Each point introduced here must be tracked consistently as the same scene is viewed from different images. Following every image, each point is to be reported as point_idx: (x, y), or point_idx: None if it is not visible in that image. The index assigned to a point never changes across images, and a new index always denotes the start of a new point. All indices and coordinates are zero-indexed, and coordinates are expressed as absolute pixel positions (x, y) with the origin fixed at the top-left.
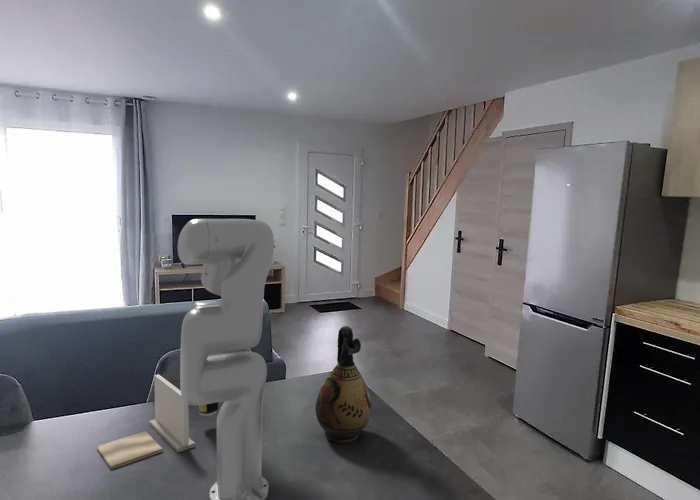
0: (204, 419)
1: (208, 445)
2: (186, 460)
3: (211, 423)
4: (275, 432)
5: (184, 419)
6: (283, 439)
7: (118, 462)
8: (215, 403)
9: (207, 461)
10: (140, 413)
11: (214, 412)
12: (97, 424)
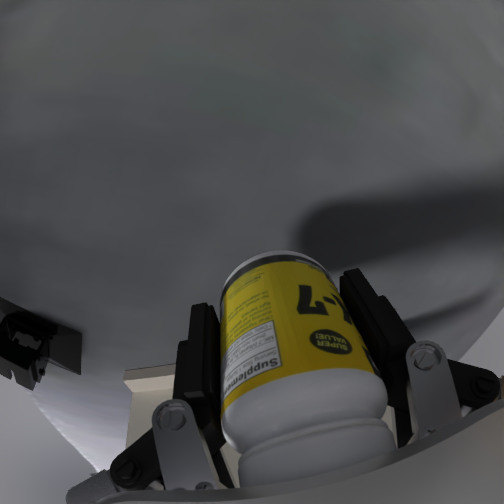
0: (172, 251)
1: (407, 272)
2: (423, 329)
3: (236, 228)
4: (459, 23)
5: None
6: (496, 43)
7: None
8: (397, 323)
9: (462, 285)
10: (74, 400)
11: (326, 272)
12: (125, 447)
